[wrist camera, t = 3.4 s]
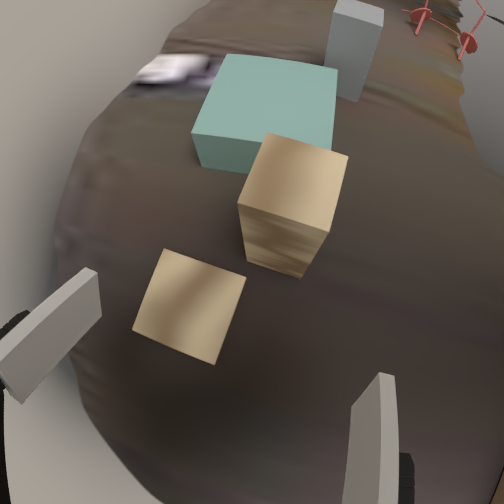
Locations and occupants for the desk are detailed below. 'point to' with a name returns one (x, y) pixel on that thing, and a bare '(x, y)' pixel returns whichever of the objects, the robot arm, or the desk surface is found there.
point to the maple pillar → (289, 203)
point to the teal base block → (263, 109)
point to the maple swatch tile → (189, 305)
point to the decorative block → (499, 492)
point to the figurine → (465, 37)
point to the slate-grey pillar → (353, 45)
